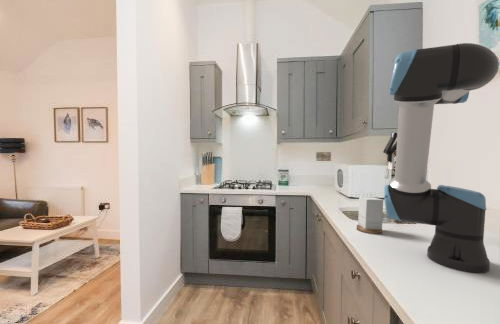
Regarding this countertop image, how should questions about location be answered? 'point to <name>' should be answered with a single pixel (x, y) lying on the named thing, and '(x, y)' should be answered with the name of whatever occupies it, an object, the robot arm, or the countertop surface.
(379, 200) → the supplement box
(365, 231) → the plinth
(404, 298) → the countertop surface
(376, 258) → the countertop surface
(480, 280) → the countertop surface
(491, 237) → the countertop surface
